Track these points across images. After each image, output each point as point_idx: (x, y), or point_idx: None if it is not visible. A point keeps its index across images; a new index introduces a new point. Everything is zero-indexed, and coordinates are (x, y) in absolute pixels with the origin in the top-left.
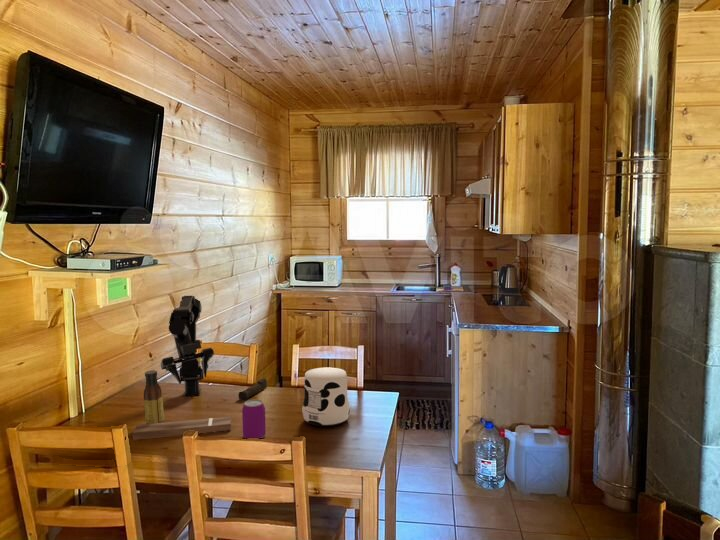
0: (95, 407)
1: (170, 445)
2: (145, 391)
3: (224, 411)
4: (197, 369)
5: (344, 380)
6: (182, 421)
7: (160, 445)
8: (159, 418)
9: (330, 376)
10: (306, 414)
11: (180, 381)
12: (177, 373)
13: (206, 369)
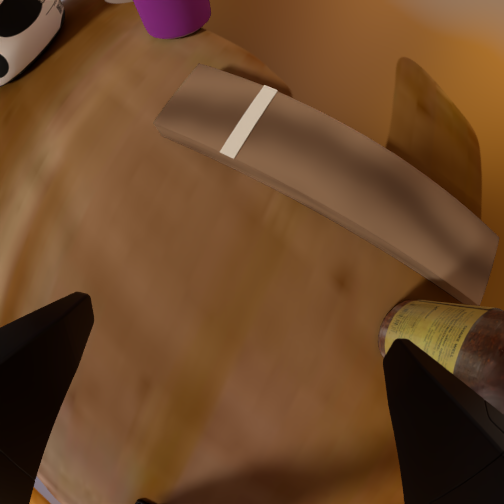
0: None
1: (409, 112)
2: None
3: (113, 283)
4: None
5: None
6: (349, 211)
7: (433, 135)
8: (420, 302)
9: None
10: (54, 14)
11: (408, 347)
12: (476, 414)
13: (8, 325)
